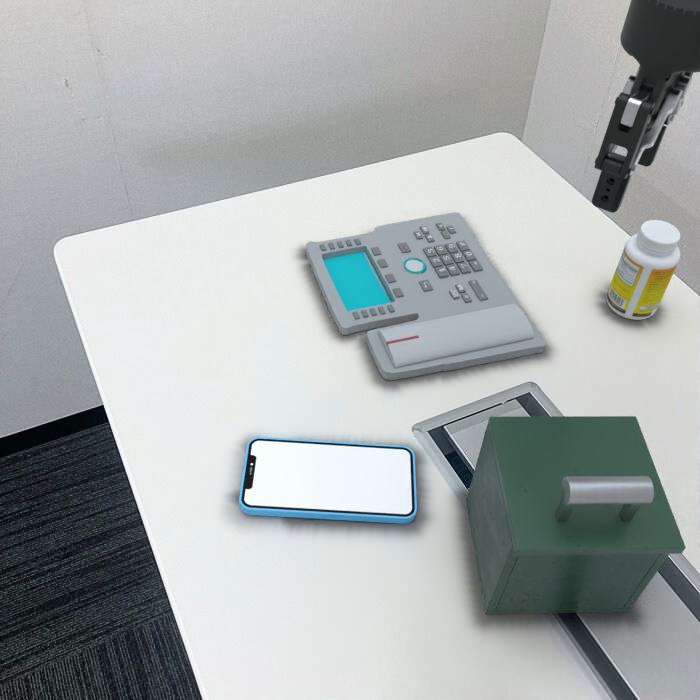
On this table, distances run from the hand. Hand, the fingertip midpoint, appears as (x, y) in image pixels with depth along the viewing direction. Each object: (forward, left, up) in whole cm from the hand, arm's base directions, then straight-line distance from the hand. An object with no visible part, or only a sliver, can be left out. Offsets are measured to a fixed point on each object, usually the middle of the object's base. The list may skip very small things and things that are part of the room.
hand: (622, 183), depth 64 cm
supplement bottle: (-3, -11, -20) cm, 23 cm away
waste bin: (-8, +23, -20) cm, 32 cm away
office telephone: (+17, +2, -20) cm, 26 cm away
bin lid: (-8, +23, -10) cm, 27 cm away
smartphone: (+10, +28, -20) cm, 36 cm away
